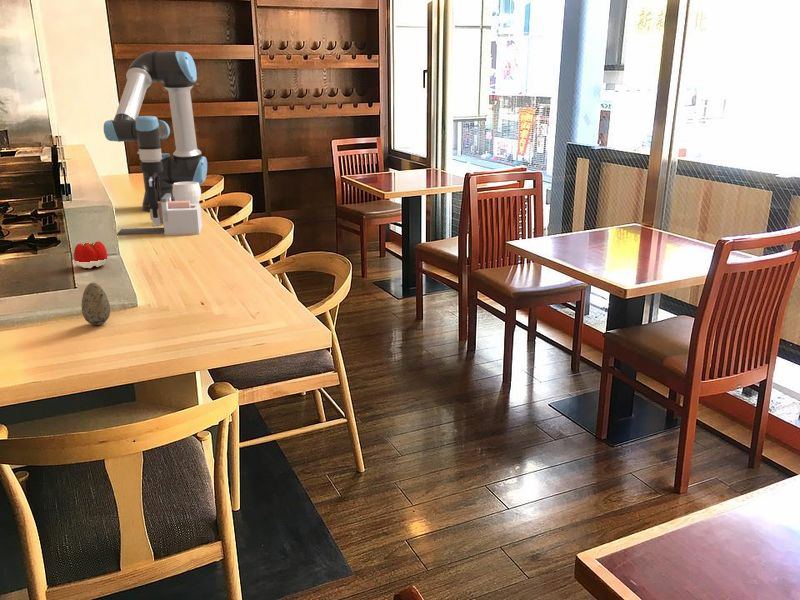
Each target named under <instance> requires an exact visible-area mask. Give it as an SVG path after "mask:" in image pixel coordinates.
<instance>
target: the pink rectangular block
mask: <svg viewBox="0 0 800 600" xmlns="http://www.w3.org/2000/svg"><path fill="white" fill-rule="evenodd" d="M149 206H150V205H149ZM158 208H159V213H160V220H161V219H163V213H162V204H161V201H158ZM173 208H191V203H190V201H168V209H173ZM149 214H150V220H151V221H152V214H151V209H150V211H149Z"/></svg>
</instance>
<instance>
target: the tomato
mask: <svg viewBox="0 0 800 600" xmlns="http://www.w3.org/2000/svg"><path fill="white" fill-rule="evenodd" d="M91 243H92V244H89V243H85V244H84V245H83V243H78V244H77V245H75V247H74V251H73V258H74V262H75V261H79V262H90V261H98V260H104V259H107V260H108V252H107V249H106V246H105V244H104V243H102V242H101V241H95V242H91ZM93 244H94V245H93Z"/></svg>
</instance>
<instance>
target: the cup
mask: <svg viewBox="0 0 800 600" xmlns="http://www.w3.org/2000/svg"><path fill="white" fill-rule="evenodd" d="M201 196H202V189H201V186H200V184H199V183H198V182H177V183H174V184H173V197H174V199H175V201H190V203H191V204H200V200H201Z"/></svg>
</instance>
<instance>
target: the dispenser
mask: <svg viewBox="0 0 800 600" xmlns="http://www.w3.org/2000/svg"><path fill="white" fill-rule="evenodd" d="M168 201H171V193H166V194H165V195H164V196H163V197H162V198H161V204H162V213H163V223H162V224H163V227H164V236H181V235H182V236H183V235H184V236H185V235H186V236H187V235H200V233H201V231H202V228H203V220H202V209H201V208H202V207H201V203H198V204H191V208H173V209H168Z"/></svg>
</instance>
